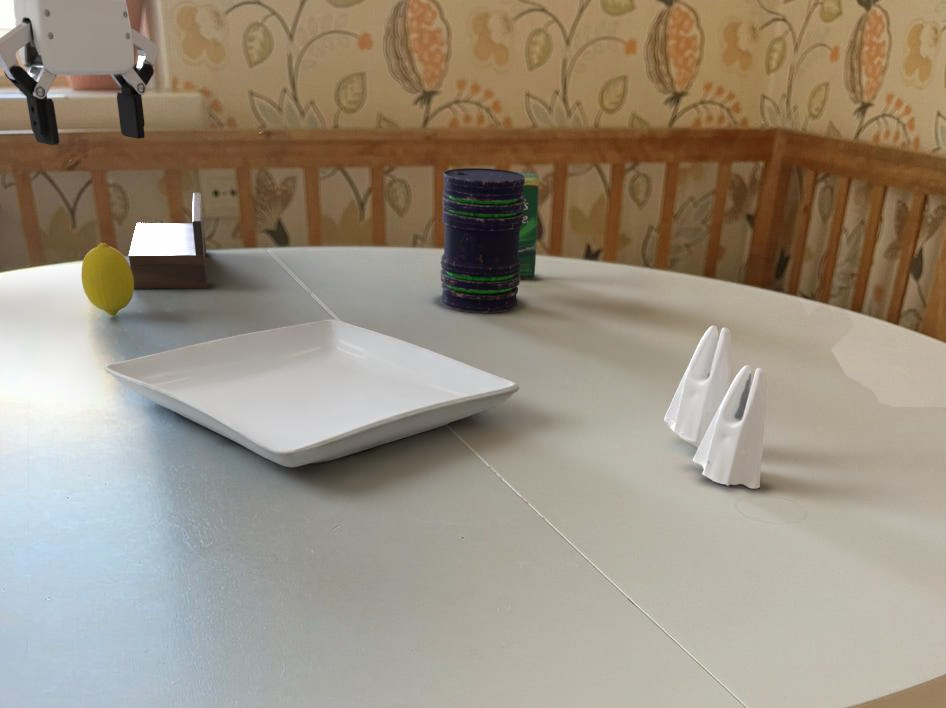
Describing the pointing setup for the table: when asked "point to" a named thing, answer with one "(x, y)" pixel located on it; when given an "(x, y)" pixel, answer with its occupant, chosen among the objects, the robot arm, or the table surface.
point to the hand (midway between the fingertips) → (91, 140)
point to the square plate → (312, 389)
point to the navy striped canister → (481, 239)
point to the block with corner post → (170, 253)
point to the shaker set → (721, 413)
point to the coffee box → (529, 227)
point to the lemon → (107, 279)
